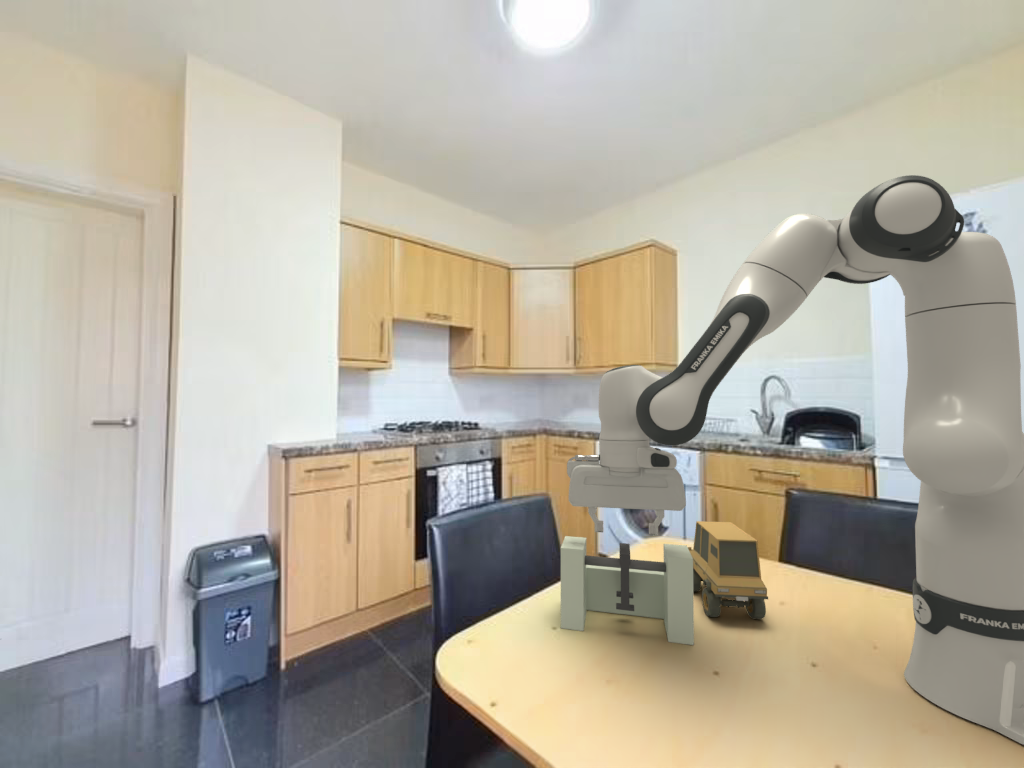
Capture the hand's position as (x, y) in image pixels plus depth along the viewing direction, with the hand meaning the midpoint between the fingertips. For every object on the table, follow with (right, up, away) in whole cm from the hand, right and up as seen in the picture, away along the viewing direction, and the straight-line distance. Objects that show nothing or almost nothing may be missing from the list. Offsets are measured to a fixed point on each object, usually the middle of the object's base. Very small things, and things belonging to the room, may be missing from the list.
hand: (626, 533), depth 79 cm
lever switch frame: (0, -17, +1) cm, 17 cm away
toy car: (+21, -17, +9) cm, 29 cm away
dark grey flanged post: (0, -12, 0) cm, 12 cm away
